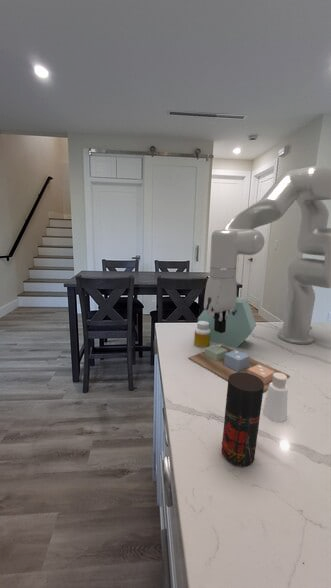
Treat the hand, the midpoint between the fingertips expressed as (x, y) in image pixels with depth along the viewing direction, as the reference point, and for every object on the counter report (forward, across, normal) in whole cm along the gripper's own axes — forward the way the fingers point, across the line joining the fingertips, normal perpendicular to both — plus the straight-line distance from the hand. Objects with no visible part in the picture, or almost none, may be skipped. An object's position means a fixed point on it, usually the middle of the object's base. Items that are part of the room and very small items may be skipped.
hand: (219, 331), depth 83 cm
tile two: (+8, +1, +8) cm, 12 cm away
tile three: (+10, +1, +16) cm, 19 cm away
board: (+10, +1, +8) cm, 13 cm away
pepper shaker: (+10, +11, +26) cm, 30 cm away
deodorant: (+9, +25, +27) cm, 38 cm away
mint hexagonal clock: (+11, -12, -7) cm, 17 cm away
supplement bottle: (+10, -2, -9) cm, 14 cm away
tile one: (+10, +1, 0) cm, 10 cm away
